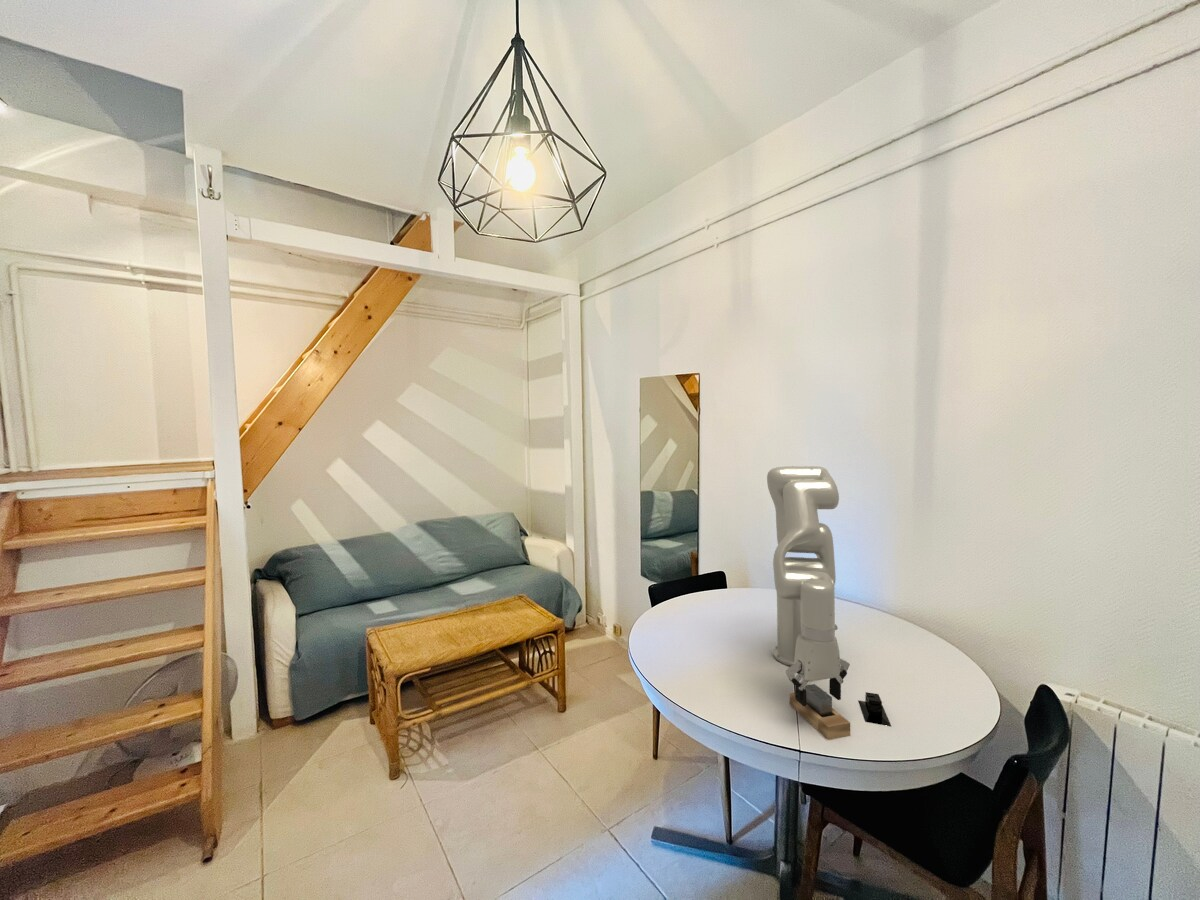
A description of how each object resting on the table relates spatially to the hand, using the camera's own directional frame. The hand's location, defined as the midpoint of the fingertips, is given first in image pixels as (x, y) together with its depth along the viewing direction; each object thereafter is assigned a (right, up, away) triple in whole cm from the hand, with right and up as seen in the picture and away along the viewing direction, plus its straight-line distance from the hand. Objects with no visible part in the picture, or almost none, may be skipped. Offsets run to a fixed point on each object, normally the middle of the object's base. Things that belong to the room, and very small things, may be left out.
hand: (818, 699), depth 111 cm
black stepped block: (+15, -5, +2) cm, 16 cm away
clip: (0, -5, 0) cm, 5 cm away
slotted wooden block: (0, -5, 0) cm, 5 cm away
